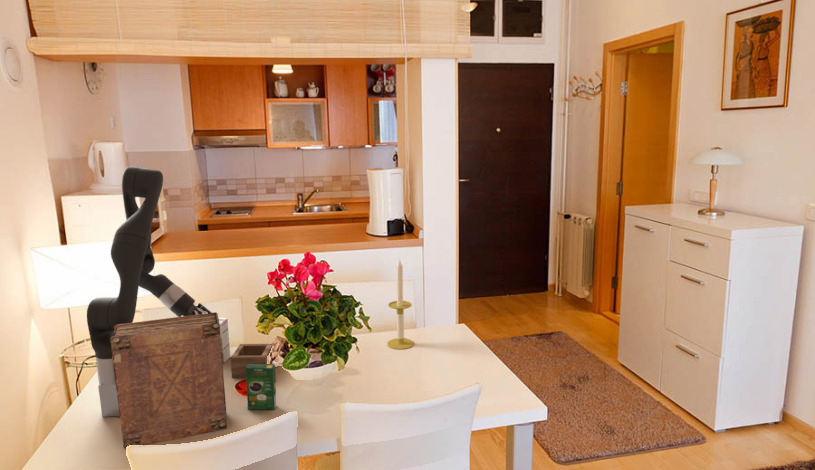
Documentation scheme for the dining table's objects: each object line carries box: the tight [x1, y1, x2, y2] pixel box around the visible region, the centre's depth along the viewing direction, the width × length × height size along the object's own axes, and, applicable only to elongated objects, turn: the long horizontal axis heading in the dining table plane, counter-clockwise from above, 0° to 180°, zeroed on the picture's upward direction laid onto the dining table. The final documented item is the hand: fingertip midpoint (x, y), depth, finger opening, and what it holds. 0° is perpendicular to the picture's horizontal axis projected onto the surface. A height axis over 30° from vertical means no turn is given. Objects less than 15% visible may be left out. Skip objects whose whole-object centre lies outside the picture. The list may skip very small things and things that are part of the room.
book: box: [110, 312, 228, 450], centre depth 144 cm, size 25×9×30 cm, turn 112°
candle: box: [386, 258, 415, 350], centre depth 200 cm, size 10×10×32 cm
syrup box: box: [218, 317, 232, 364], centre depth 190 cm, size 6×6×14 cm
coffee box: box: [245, 363, 277, 411], centre depth 157 cm, size 8×3×13 cm, turn 89°
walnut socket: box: [230, 343, 273, 379], centre depth 182 cm, size 11×11×7 cm
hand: (213, 331), depth 189 cm, fingers open, 8 cm apart
